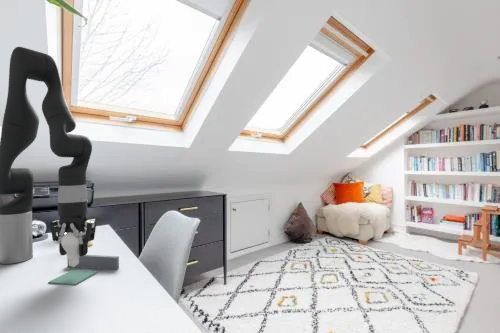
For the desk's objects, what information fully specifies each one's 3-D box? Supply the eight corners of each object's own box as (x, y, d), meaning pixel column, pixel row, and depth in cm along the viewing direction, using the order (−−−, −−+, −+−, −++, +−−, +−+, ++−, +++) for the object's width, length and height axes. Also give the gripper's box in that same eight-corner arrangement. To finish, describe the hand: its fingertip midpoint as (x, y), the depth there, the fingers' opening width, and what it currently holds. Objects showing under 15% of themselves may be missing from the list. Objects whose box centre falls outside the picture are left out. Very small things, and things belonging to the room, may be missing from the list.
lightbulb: (73, 271, 78) (73, 233, 78) (56, 269, 79) (55, 232, 79) (90, 263, 84) (89, 228, 84) (73, 262, 85) (73, 227, 85)
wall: (67, 266, 91) (67, 255, 91) (70, 265, 92) (70, 253, 92) (116, 269, 88) (116, 257, 88) (118, 268, 89) (118, 256, 89)
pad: (48, 283, 78) (48, 282, 78) (72, 271, 87) (72, 269, 87) (75, 285, 77) (75, 283, 77) (97, 272, 86) (97, 271, 86)
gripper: (40, 201, 79) (41, 258, 79) (84, 201, 77) (85, 260, 77) (62, 198, 86) (62, 250, 87) (102, 198, 84) (103, 252, 84)
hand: (73, 254), depth 82 cm, fingers closed on lightbulb, 5 cm apart
